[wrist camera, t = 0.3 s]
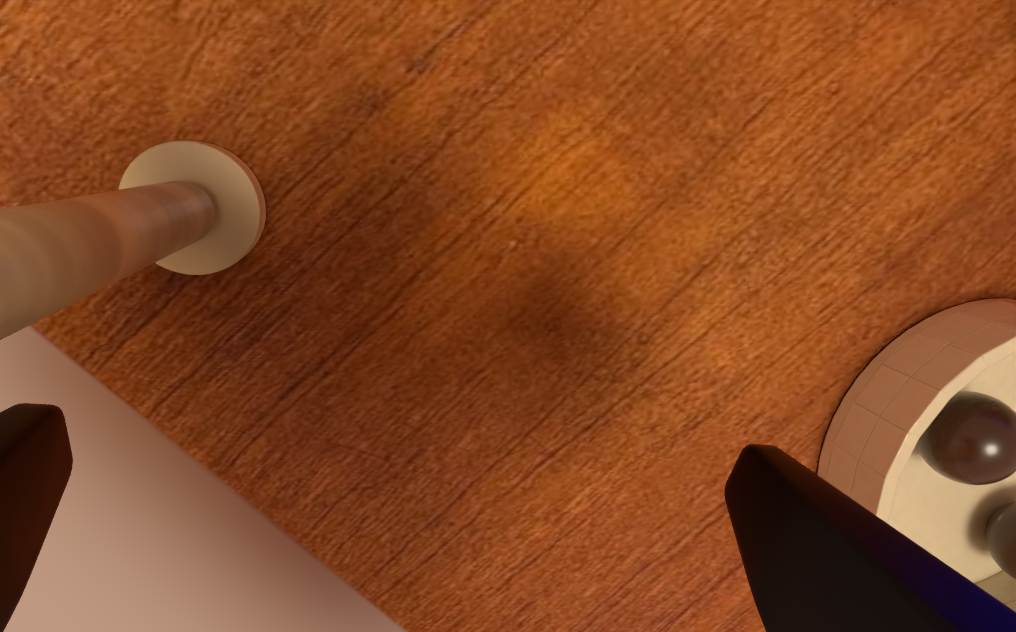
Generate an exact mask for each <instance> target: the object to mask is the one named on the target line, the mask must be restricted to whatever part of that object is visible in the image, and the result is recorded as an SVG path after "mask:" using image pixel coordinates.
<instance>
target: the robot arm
mask: <svg viewBox="0 0 1016 632" xmlns="http://www.w3.org/2000/svg"><path fill="white" fill-rule="evenodd" d="M72 463H73V458H72V451H71V447H70V442H69V437H68V433H67V427H66V423H65V418H64V415H63V412H62V410H61V409H60V408H59V407H57V406H55V405H46V404H29V403H23V404H17V405H15V406H12V407H10V408H8V409H6V410H4V411H3V412H1V413H0V632H3V631H4V629H5V627H6V625H7V624H8V622H9V620H10V618H11V616H12V614H13V612H14V610H15V608H16V606H17V604H18V602H19V600H20V598H21V596H22V594H23V591H24V589H25V587H26V584H27V582H28V580H29V578H30V575H31V573H32V570H33V568H34V565H35V562H36V560H37V557H38V555H39V553H40V550H41V548H42V545H43V543H44V540H45V538H46V535H47V533H48V530H49V528H50V525H51V523H52V520H53V518H54V515H55V512H56V510H57V507H58V505H59V502H60V500H61V497H62V495H63V492H64V490H65V487H66V485H67V482H68V480H69V477H70V474H71V470H72ZM725 501H726V505H727V508H728V512H729V515H730V519H731V522H732V526H733V530H734V533H735V537H736V540H737V544H738V547H739V551H740V554H741V558H742V561H743V565H744V568H745V572H746V575H747V579H748V582H749V585H750V588H751V592H752V595H753V598H754V601H755V603H756V606H757V609H758V612H759V614H760V617H761V619H762V622H763V624H764V627H765V630H766V632H1016V612H1015V611H1013V610H1012V609H1011V608H1009V607H1008V606H1006V605H1005V604H1003V603H1002V602H1000V601H999V600H998V599H996V598H995V597H993V596H992V595H990V594H989V593H987V592H986V591H984V590H983V589H982V588H980V587H979V586H977V585H976V584H974V583H973V582H971V581H970V580H969V579H967V578H966V577H964V576H963V575H961V574H960V573H958V572H957V571H956V570H954V569H953V568H951V567H950V566H948V565H947V564H945V563H944V562H943V561H941V560H940V559H938V558H937V557H935V556H934V555H932V554H931V553H930V552H928V551H927V550H925V549H924V548H922V547H921V546H919V545H918V544H916V543H915V542H914V541H912V540H911V539H909V538H908V537H906V536H905V535H903V534H902V533H901V532H899V531H898V530H896V529H895V528H893V527H892V526H890V525H889V524H888V523H886V522H885V521H883V520H882V519H880V518H879V517H877V516H876V515H875V514H873V513H872V512H870V511H869V510H867V509H866V508H864V507H863V506H862V505H860V504H859V503H857V502H856V501H854V500H853V499H851V498H850V497H849V496H847V495H846V494H844V493H843V492H841V491H840V490H838V489H837V488H836V487H834V486H833V485H831V484H830V483H828V482H827V481H825V480H824V479H823V478H821V477H820V476H818V475H817V474H815V473H814V472H812V471H811V470H810V469H808V468H807V467H805V466H804V465H802V464H801V463H799V462H798V461H796V460H795V459H794V458H792V457H791V456H789V455H788V454H786V453H785V452H783V451H782V450H781V449H779V448H777V447H775V446H772V445H760V444H750V445H747V446H746V447H745V448H743V450H742V451H741V453H740V455H739V457H738V459H737V461H736V463H735V466H734V468H733V470H732V472H731V474H730V476H729V478H728V480H727V482H726V485H725Z"/></svg>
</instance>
